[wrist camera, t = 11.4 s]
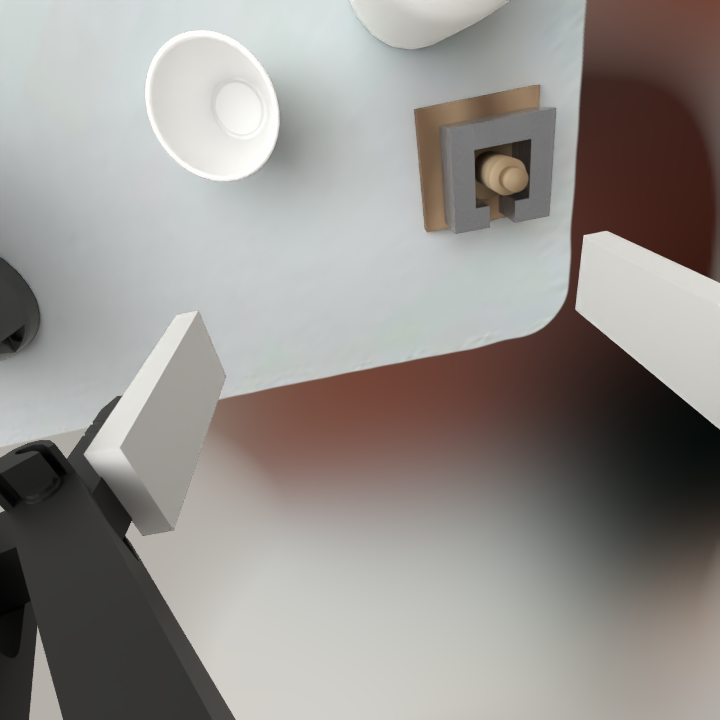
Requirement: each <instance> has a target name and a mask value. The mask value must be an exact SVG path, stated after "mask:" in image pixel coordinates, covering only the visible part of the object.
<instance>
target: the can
mask: <svg viewBox="0 0 720 720" xmlns="http://www.w3.org/2000/svg"><path fill="white" fill-rule="evenodd" d="M509 1H510V0H350V3H351V5H352V7H353V10H354V12H355V14H356V16H357V17H358V19H359V20H360V21H361V22H362V24H363V25H364V26H365V27H366V28H367V30H368V31H369V32H370V33H371V34H372V35H373V36H375V37H376V38H378V39H379V40H381V41H383V42H384V43H386V44H388V45H389V46H391V47H397V48H403V49H409V50H413V49H418V48H422V47H427V46H431V45H434V44H436V43H438V42H440V41H442V40H444V39H446V38H448V37H449V36H451V35H453V34H455V33H457V32H459V31H461V30H463V29H465V28H467V27H469V26H471V25H473V24H475V23H477V22H479V21H480V20H482V19H483V18H485V17H487V16H488V15H490V14H491V13H493V12H494V11H496V10H497V9H499V8H500V7H502V6H504V5H505V4H507V3H508V2H509Z"/></svg>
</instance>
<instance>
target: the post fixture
mask: <svg viewBox="0 0 720 720" xmlns="http://www.w3.org/2000/svg"><path fill="white" fill-rule="evenodd" d="M539 97H540V85H533V86H528V87H523V88H518V89H513V90H508V91H503V92H498V93H493V94H488V95H483V96H478V97H473V98H468V99H463V100H458V101H454V102H449V103H444V104H439V105H434V106H429V107H424V108H419V109H414V114H415V125H416V136H417V147H418V159H419V170H420V181H421V192H422V203H423V214H424V226H425V230H426V231H427V232H431V231H436V230H442V229H447V228H450V227H449V226H448V225H447V224H446V223H445V218H444V202H443V187H442V172H441V156H440V141H439V126H441V125H446V124H451V123H456V122H461V121H466V120H471V119H476V118H481V117H486V116H491V115H496V114H501V113H506V112H511V111H516V110H521V109H525V108H530V107H539ZM474 159H475V196H476V197H477V198H479V199H480V200H482V201H483V202H485V203H486V204H488V205H489V206H490V220H494V219H499V218H504V217H506V216H504V215H503V214H501V213H500V212H499V194H501V195H511V194H513V193H515V192H520V191H522V190H523V189H524V188H525V187H526V185H527V183H528V174H527V172H526V169H525V166H524V164H523V163H522V162H521V161H520V160H518V159H516V158H512V143H508V144H502V145H497V146H492V147H487V148H482V149H477V150H474Z"/></svg>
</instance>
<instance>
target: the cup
mask: <svg viewBox="0 0 720 720" xmlns="http://www.w3.org/2000/svg"><path fill="white" fill-rule="evenodd" d="M145 100H146V106H147V112H148V116H149V119H150V122H151V125H152V128H153V130H154V132H155V134H156V136H157V138H158V139H159V141H160V143H161V144H162V146H163V147H164V148H165V150H166V151H167V152H168V154H169V155H170V156H171V157H172V158H173V159H174V160H175V161H176V162H177V163H179V164H180V165H181V166H182V167H184V168H185V169H187V170H188V171H190V172H191V173H193V174H195V175H198V176H200V177H202V178H205V179H209V180H213V181H223V182H229V181H235V180H240V179H242V178H245V177H247V176H250V175H251V174H253V173H254V172H256V171H257V170H259V169H260V168H261V167H262V166H263V165H264V163H265V162H266V161H267V160H268V158H269V157H270V155H271V153H272V152H273V150H274V147H275V144H276V142H277V139H278V134H279V127H280V111H279V104H278V100H277V95H276V92H275V89H274V87H273V84H272V81H271V79H270V77H269V76H268V74H267V72H266V71H265V69H264V67H263V66H262V64H261V63H260V62H259V61H258V60H257V58H256V57H255V56H254V55H253V54H252V53H251V52H250V51H249V50H248V49H247V48H245V47H244V46H243V45H242V44H241V43H239V42H237V41H235V40H234V39H232V38H230V37H228V36H226V35H223V34H220V33H217V32H214V31H204V30H196V31H190V32H184V33H182V34H180V35H178V36H176V37H173V38H172V39H170V40H169V41H168V42H167V43H166V44H164V45H163V46H162V47H161V48H160V50H159V51H158V53H157V54H156V55H155V57H154V58H153V61H152V63H151V65H150V68H149V70H148V74H147V80H146V85H145Z"/></svg>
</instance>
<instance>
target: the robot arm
mask: <svg viewBox="0 0 720 720" xmlns="http://www.w3.org/2000/svg"><path fill="white" fill-rule="evenodd" d="M576 310H577V311H578V312H579V313H580V314H581V315H582V316H584V317H585V318H586V319H587V320H588V321H590V322H591V323H592V324H593V325H595V326H596V327H597V328H598V329H599V330H601V331H602V332H603V333H604V334H605V335H607V336H608V337H609V338H610V339H611V340H613V341H614V342H615V343H616V344H617V345H619V346H620V347H621V348H622V349H624V350H625V351H626V352H627V353H628V354H630V355H631V356H632V357H633V358H634V359H636V360H637V361H638V362H639V363H640V364H642V365H643V366H644V367H645V368H646V369H648V370H649V371H650V372H651V373H652V374H654V375H655V376H656V377H657V378H659V379H660V380H661V381H662V382H664V384H666V385H667V386H668V387H669V388H671V389H672V390H673V391H674V392H675V393H677V394H678V395H679V396H680V397H681V398H683V399H684V400H685V401H686V402H687V403H689V404H690V405H691V406H692V407H693V408H695V409H696V410H697V411H698V412H700V413H701V414H702V415H703V416H704V417H706V418H707V419H708V420H709V421H710V422H712V423H713V424H714V425H715V426H716V427H718V428H719V429H720V283H718V282H716V281H714V280H712V279H710V278H707V277H705V276H703V275H701V274H699V273H697V272H694V271H692V270H690V269H688V268H686V267H684V266H682V265H679V264H677V263H675V262H673V261H670V260H669V259H666V258H664V257H662V256H660V255H658V254H656V253H653V252H651V251H649V250H647V249H645V248H642V247H640V246H638V245H636V244H634V243H632V242H629V241H627V240H625V239H623V238H621V237H619V236H617V235H614V234H612V233H610V232H608V231H604V232H599V233H594V234H588V235H584V238H583V247H582V256H581V265H580V273H579V282H578V292H577V300H576ZM38 326H39V311H38V306H37V303H36V300H35V298H34V296H33V294H32V292H31V290H30V288H29V287H28V285H27V284H26V282H25V281H24V280H23V279H22V277H21V276H20V275H19V274H18V273H17V272H16V271H15V270H14V269H13V268H12V267H11V266H10V265H9V264H8V263H6V262H5V261H4V260H3V259H1V258H0V361H2V360H5V359H7V358H9V357H11V356H13V355H15V354H16V353H18V352H19V351H20V350H21V349H23V348H24V347H25V346H26V345H27V344H29V343H30V342H31V341H32V339H33V338H34V336H35V335H36V333H37V330H38ZM225 378H226V375H225V372H224V370H223V368H222V365H221V363H220V360H219V358H218V356H217V353H216V351H215V348H214V346H213V344H212V341H211V339H210V337H209V334H208V332H207V329H206V327H205V325H204V322H203V320H202V317H201V315H200V313H199V310H198V311H193V312H188V313H183V314H178V315H176V316H175V318H174V319H173V321H172V322H171V324H170V325H169V327H168V328H167V330H166V331H165V333H164V334H163V336H162V337H161V339H160V340H159V342H158V343H157V345H156V346H155V348H154V349H153V351H152V352H151V354H150V355H149V357H148V358H147V360H146V361H145V363H144V364H143V366H142V367H141V369H140V370H139V372H138V373H137V375H136V376H135V378H134V379H133V381H132V382H131V384H130V385H129V387H128V388H127V390H126V391H125V393H124V394H123V395H122V396H117V397H116V398H115V399H113V400H112V401H111V402H110V403H109V404H107V405H106V406H105V407H104V408H103V409H102V410H101V411H100V412H99V414H98V415H97V417H96V418H95V420H94V421H93V422H92V423H93V425H90V427H89V428H88V429H87V431H86V432H85V436H83V437H82V438H81V440H80V441H79V442H78V444H77V445H76V447H75V448H74V449H73V451H72V452H71V454H70V455H69V457H68V458H67V459H66V458H65V456H64V455H63V454H62V453H61V451H60V450H59V449H58V447H57V446H56V445H55V444H54V443H53V442H51V441H50V440H39V441H35V442H31V443H27V444H25V445H23V446H21V447H18V448H16V449H14V450H12V451H11V452H9V453H7V454H6V455H4V456H2V457H1V458H0V506H1V507H2V508H3V509H4V510H5V511H3V512H1V513H0V720H29V713H30V702H31V701H30V700H31V691H32V679H33V668H34V656H35V646H36V635H37V625H38V628H39V632H40V636H41V640H42V643H43V647H44V651H45V654H46V658H47V662H48V665H49V669H50V673H51V676H52V680H53V684H54V687H55V691H56V694H57V698H58V702H59V705H60V709H61V713H62V717H63V720H235V718H234V716H233V715H232V713H231V711H230V709H229V708H228V706H227V704H226V703H225V701H224V699H223V698H222V696H221V694H220V693H219V691H218V689H217V688H216V686H215V684H214V682H213V681H212V679H211V677H210V676H209V674H208V672H207V671H206V669H205V667H204V666H203V664H202V662H201V661H200V659H199V657H198V655H197V654H196V652H195V650H194V649H193V647H192V645H191V644H190V642H189V640H188V639H187V637H186V635H185V634H184V632H183V630H182V628H181V627H180V625H179V624H178V622H177V620H176V619H175V617H174V615H173V613H172V612H171V610H170V608H169V607H168V605H167V603H166V601H165V600H164V598H163V597H162V595H161V593H160V591H159V590H158V588H157V586H156V585H155V583H154V581H153V580H152V578H151V576H150V574H149V573H148V571H147V569H146V568H145V566H144V565H143V563H142V561H141V559H140V558H139V556H138V554H137V553H136V551H135V549H134V548H133V546H132V544H131V543H130V542H129V540H128V539H127V538H126V536H125V534H126V532H127V530H128V528H129V525H130V523H131V521H133V523H134V524H135V526H136V527H137V529H138V530H139V531H140V533H141V534H142V535H143V536H145V535H151V534H156V533H162V532H168V531H172V530H174V528H175V525H176V522H177V519H178V516H179V513H180V510H181V508H182V505H183V502H184V499H185V496H186V493H187V490H188V487H189V484H190V481H191V478H192V475H193V472H194V469H195V466H196V464H197V460H198V457H199V454H200V452H201V449H202V446H203V443H204V440H205V437H206V434H207V431H208V428H209V425H210V422H211V419H212V416H213V413H214V410H215V408H216V405H217V402H218V399H219V396H220V393H221V390H222V387H223V384H224V381H225Z"/></svg>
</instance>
